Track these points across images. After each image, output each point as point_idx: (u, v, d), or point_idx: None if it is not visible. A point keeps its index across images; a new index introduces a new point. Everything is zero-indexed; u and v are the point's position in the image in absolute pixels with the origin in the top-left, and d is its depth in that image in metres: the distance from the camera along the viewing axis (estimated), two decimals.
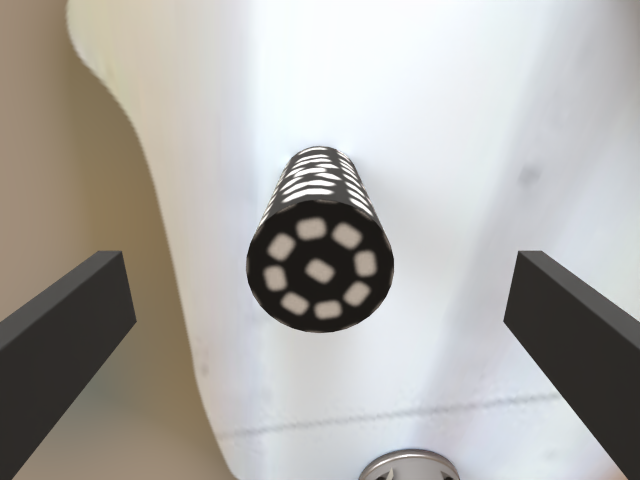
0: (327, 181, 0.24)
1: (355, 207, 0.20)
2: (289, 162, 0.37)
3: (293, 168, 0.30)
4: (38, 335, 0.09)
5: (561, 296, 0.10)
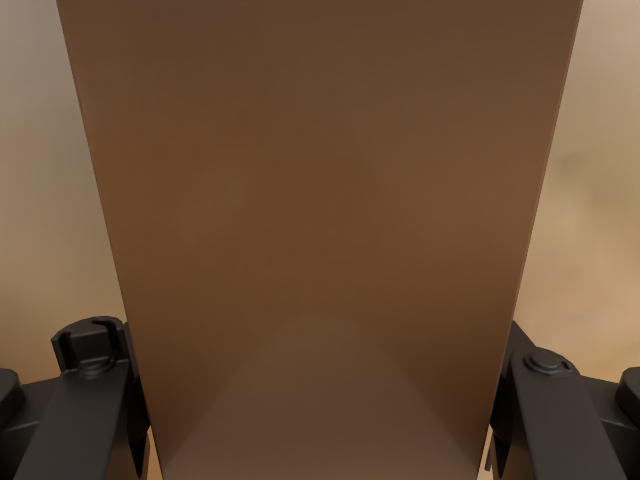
0: None
1: None
2: None
3: None
4: None
5: None
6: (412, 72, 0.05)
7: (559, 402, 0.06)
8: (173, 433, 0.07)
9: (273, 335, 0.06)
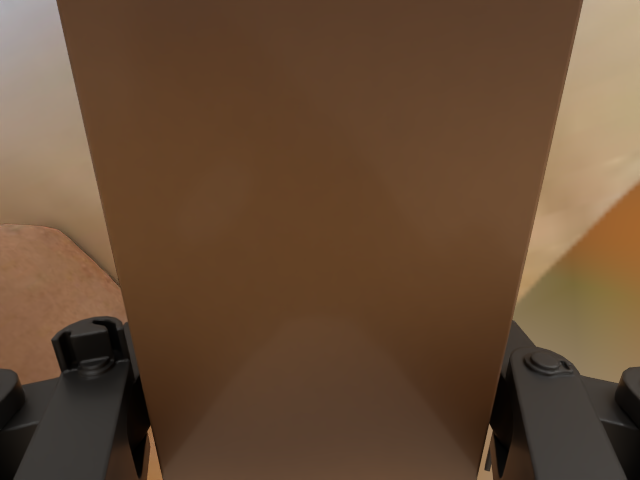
0: None
1: None
2: None
3: None
4: None
5: None
6: (412, 73, 0.05)
7: (559, 402, 0.06)
8: (173, 433, 0.07)
9: (272, 336, 0.06)
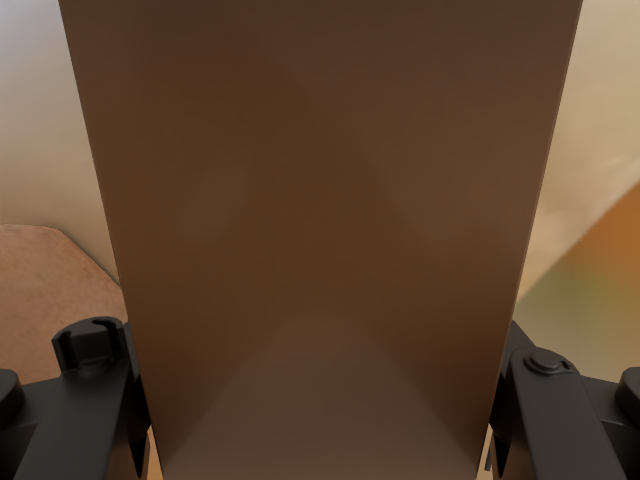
0: None
1: None
2: None
3: None
4: None
5: None
6: (412, 73, 0.05)
7: (559, 401, 0.07)
8: (173, 432, 0.07)
9: (273, 335, 0.06)
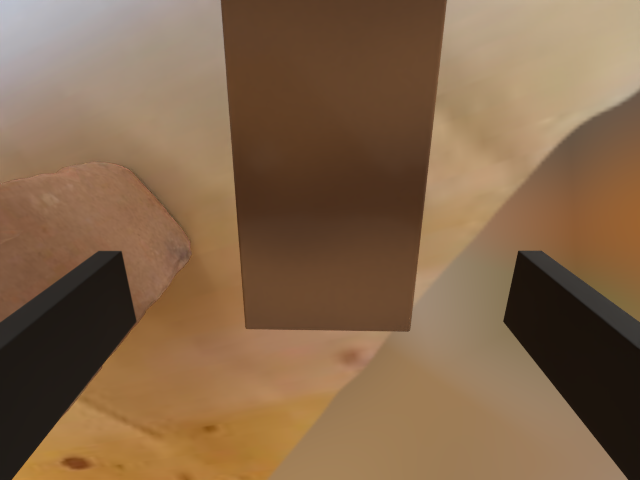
0: None
1: None
2: None
3: None
4: (38, 335, 0.09)
5: (561, 296, 0.10)
6: None
7: None
8: (248, 206, 0.12)
9: (306, 140, 0.12)
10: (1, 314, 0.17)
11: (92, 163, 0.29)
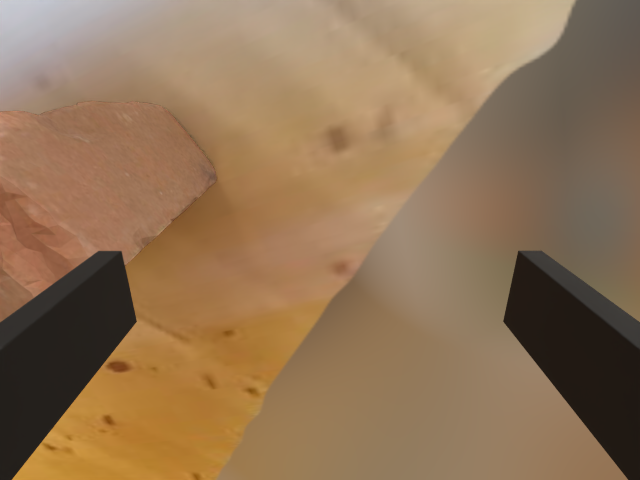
0: None
1: None
2: None
3: None
4: (38, 335, 0.09)
5: (561, 296, 0.10)
6: None
7: None
8: None
9: None
10: (116, 173, 0.27)
11: (144, 103, 0.39)
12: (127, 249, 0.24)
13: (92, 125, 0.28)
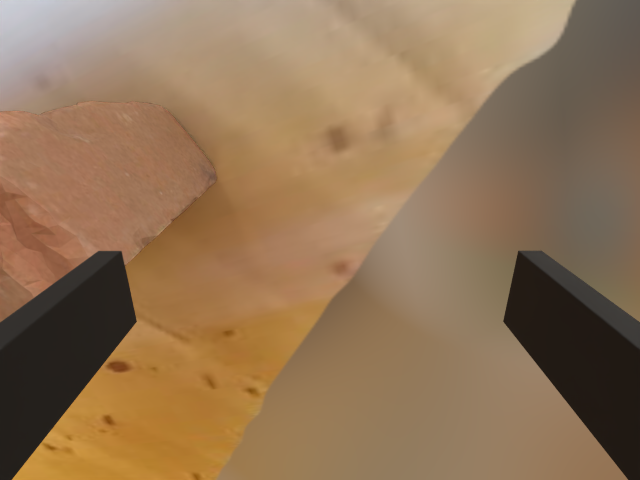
0: None
1: None
2: None
3: None
4: (38, 335, 0.09)
5: (561, 296, 0.10)
6: None
7: None
8: None
9: None
10: (116, 173, 0.27)
11: (144, 103, 0.39)
12: (127, 249, 0.24)
13: (92, 125, 0.28)
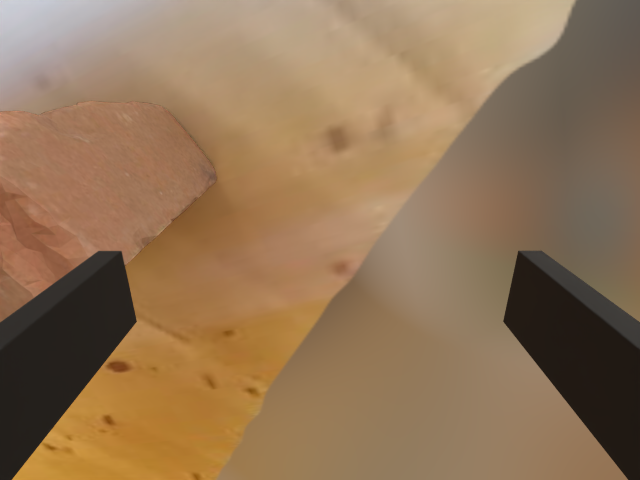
0: None
1: None
2: None
3: None
4: (38, 335, 0.09)
5: (561, 296, 0.10)
6: None
7: None
8: None
9: None
10: (116, 173, 0.27)
11: (144, 103, 0.39)
12: (127, 249, 0.24)
13: (92, 125, 0.28)
